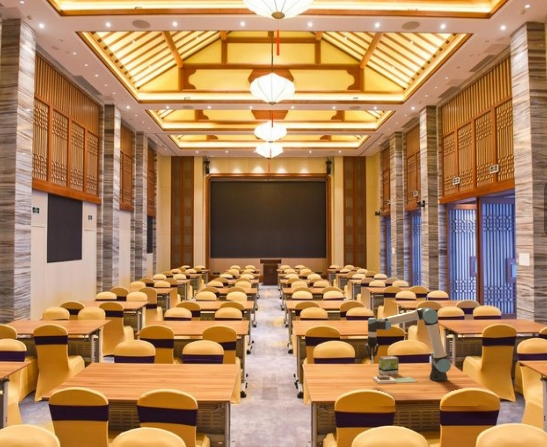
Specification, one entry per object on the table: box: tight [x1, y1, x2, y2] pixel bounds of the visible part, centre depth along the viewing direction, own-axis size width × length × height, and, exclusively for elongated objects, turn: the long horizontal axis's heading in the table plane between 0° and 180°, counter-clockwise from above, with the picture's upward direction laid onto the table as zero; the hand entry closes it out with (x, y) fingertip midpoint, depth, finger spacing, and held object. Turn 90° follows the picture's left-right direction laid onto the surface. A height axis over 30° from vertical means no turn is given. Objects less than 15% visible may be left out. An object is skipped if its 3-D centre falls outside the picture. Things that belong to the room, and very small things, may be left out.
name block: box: [376, 374, 390, 380], centre depth 416 cm, size 9×6×2 cm, turn 99°
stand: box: [372, 375, 397, 385], centre depth 416 cm, size 16×14×2 cm
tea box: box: [378, 355, 399, 376], centre depth 440 cm, size 15×10×15 cm, turn 112°
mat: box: [393, 376, 418, 384], centre depth 419 cm, size 18×14×1 cm
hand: (372, 363), depth 415 cm, fingers closed
